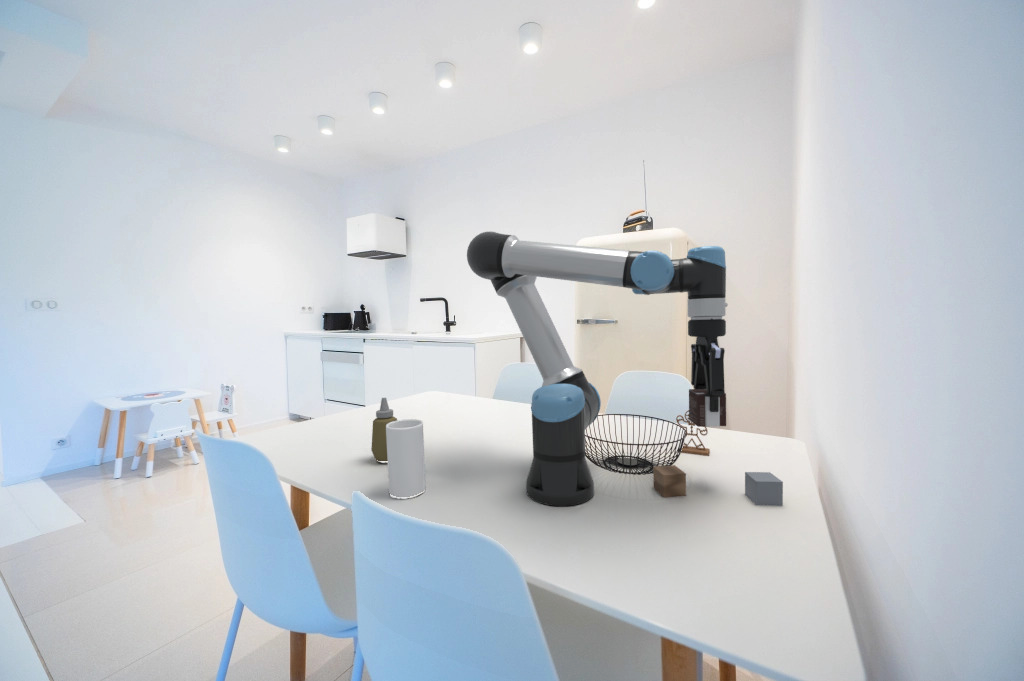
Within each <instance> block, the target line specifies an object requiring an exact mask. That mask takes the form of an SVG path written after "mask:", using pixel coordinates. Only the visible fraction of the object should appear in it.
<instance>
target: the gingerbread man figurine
mask: <svg viewBox="0 0 1024 681" xmlns="http://www.w3.org/2000/svg"><path fill="white" fill-rule="evenodd" d="M679 417H681V418H679ZM678 418H679V419H678ZM675 420H676V423H677V425H679V427H681V428H682V429H685V435H686V437H687V436H690V437H691V436H695V437H696V438H697V440H698V441H699V444H697V443H696V442H695V440H694V439H693V437H691V438H690V440H689V441H688V442H687V443H686V442H684V444H683V445H682V446H683V448H682V451H681V453H680V454H687V455H696V456H702V457H703V456H704V457H709V456H710V453H711V450H710V448H707V447H705V446H704V444H703V442H702V441H701V439H700V437H699V434H700V435H701V436H707V435H708V433H709V432H708V428H707V427H706V426H705V427H704V429H701V428H700V427H696V433H693V432H694V430H693V428H694V427H695V426H696V425H695V424H694V423H693V422H691V421H690V420H689V409H688V410H687V411H685V413H684V416H683V415H681V414H679V415H677V417H676V418H675ZM680 422H683V423H687V425H688V426H690V432H689V433H688V427H687V426H684V425H682V424H681V423H680ZM698 431H699V432H698ZM704 432H706V433H705V434H704ZM691 442H692V443H693V444H694V446H690V445H689V444H691Z"/></svg>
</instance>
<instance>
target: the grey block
mask: <svg viewBox="0 0 1024 681" xmlns="http://www.w3.org/2000/svg"><path fill="white" fill-rule="evenodd" d="M783 483H784V481H782V480H781V479H780V478H778V477H777V476H776V475H774V474H773V473H771V471H768V472H767V471H766V472H765V471H760V472H759V471H745V472H744V495H745V497H747V498H748V499H749V500H750V501H751V502H752V503H753V504H755V505H756V506H771V507H774V506H775V507H777V506H778V507H781V506H784V505H783V504H784V503H783V502H784V501H783V500H784V496H783V495H784V492H783V491H784V486H783V485H784V484H783Z"/></svg>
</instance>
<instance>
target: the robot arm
mask: <svg viewBox="0 0 1024 681" xmlns="http://www.w3.org/2000/svg"><path fill="white" fill-rule="evenodd" d="M466 260H467V264H468V267H470V269H471V271H472V272H473V273H474V274H475V275H476V276H478V277H480V278H482V279H485V280H489V281H490V282H491V284H492V286H493V288H494V291H495V293H496V294H497V296H499V297H501V298H504V299H505V300H506V303H507V305H508V307H509V309H510V312H511V313H512V316H513V318H514V319H515V323H516V324H517V326H518V329H519V331H520V333H521V335H522V337H523V339H524V342H525V343H526V346H527V347H528V350H529V353H530V354H531V356H532V358H533V361H534V362H535V363H534V364H536V367H537V369H538V371H539V374H540V375H541V377H542V384H541V387H539V388H536V390H535V391H534V392H532V396H531V404H530V405H531V406H530V410H531V423H532V424H531V426H532V428H531V429H532V430H531V431H532V434H531V435H532V453H533V454H532V455H533V456H532V460H531V464H530V467H529V471H528V475H527V478H526V482H525V483H526V484H525V485H526V486H525V490H526V494H527V496H528V497H529V498H530V499H532V500H533V501H535V502H538V503H540V504H543V505H547V504H548V506H556V507H557V506H558V507H565V506H567V507H568V506H569V505H570V506H576V505H579V504H583V503H586V502H587V501H589V500H590V499H592V498H593V497H594V495H595V482H594V479H593V476H592V474H591V471H590V468H589V465H588V461H587V459H586V429H587V428H588V427H590V425H592V423H594V422H595V421H596V420H597V418H598V416H599V413H600V411H601V410H600V409H601V405H602V404H601V402H602V400H601V396H600V394H599V391H598V389H597V388H596V387H595V386H594V385H593V384H592V383H591V382H589V381H588V379H587V377H586V375H585V373H584V371H583V369H582V368H579V367H576V366H574V364H573V362H572V360H571V357H570V355H569V353H568V351H567V349H566V346H565V345H564V343H563V341H562V339H561V336H560V335H559V332H558V331H557V329H556V328H557V327H556V326H555V325H554V322H553V320H552V318H551V316H550V314H549V311H548V309H547V307H546V305H545V303H544V301H543V299H542V297H541V295H540V293H539V291H538V288H537V286H536V284H535V282H536V280H537V277H538V278H547V279H553V280H561V281H562V280H563V281H569V282H570V281H571V282H576V283H577V282H578V283H586V284H587V283H588V284H594V285H604V286H611V287H619V288H625V289H626V288H627V289H631V290H632V293H633V294H635V295H645V296H649V295H659V294H674V293H675V294H676V293H680V294H681V293H687V317H688V318H690V319H689V320H688V321H687V335H688V336H689V337H693V338H694V337H695V338H696V340H695V343H693V344H692V343H691V345H690V348H691V375H690V376H691V378H690V379H691V381H690V383H691V386H693V389H707V394H703V395H704V397H705V426H706V428H707V427H711V428H712V427H713V428H714V427H716V428H717V427H718V428H719V427H721V426H720V396H721V395H724V393H726V392H725V366H724V364H725V363H724V361H725V360H724V359H725V352H726V351H725V348H724V347H720V345H719V342H718V338H719V337H724V336H726V333H727V332H726V331H727V324H726V323H727V321H726V320H725V318H723V317H725V316H726V307H728V305H729V304H728V303H727V302H726V298H727V297H726V291H727V290H726V289H727V283H726V282H727V281H726V280H727V266H726V250H725V249H724V248H723V247H721V246H720V245H704V246H700V247H692V248H690V249H688V251H687V255H686V257H683V258H678V259H671V258H670V257H669V255H667V254H666V253H663V252H662V251H659V250H650V249H649V250H647V251H637V250H628V249H627V250H625V249H615V248H605V247H595V246H585V245H583V246H582V245H573V244H562V243H560V244H559V243H551V242H540V241H539V242H538V241H529V240H528V241H527V240H520V239H519V237H517V236H516V235H515V234H514V235H512V234H505V233H499V232H496V231H484V232H481V233H479V234H477V235H475V236H474V237H473V238H472V240H470V242H469V245H468V246H467V251H466Z"/></svg>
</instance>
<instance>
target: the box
mask: <svg viewBox="0 0 1024 681" xmlns="http://www.w3.org/2000/svg"><path fill="white" fill-rule="evenodd" d="M703 394H707V389H694V388H693V389H692V388H691V389H690V388H689V389H688V410H689V412H688V414H689V419H688V420H689V421H690V423H691V422H692V423H694V424H695V426H696V427H697V428H700V427H704V428H705V397H704V395H703ZM726 426H727V394H726V392H725V393H724V395H721V396H720V427H726Z"/></svg>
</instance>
